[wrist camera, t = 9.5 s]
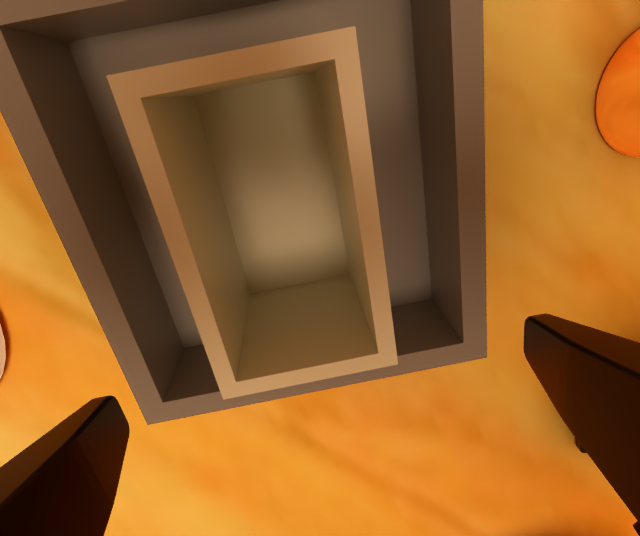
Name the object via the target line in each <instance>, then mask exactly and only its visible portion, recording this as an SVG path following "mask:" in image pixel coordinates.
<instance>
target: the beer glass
mask: <svg viewBox="0 0 640 536" xmlns="http://www.w3.org/2000/svg"><path fill="white" fill-rule="evenodd" d="M596 119H597V124H598V128H599V130H600V133H601V135H602V137H603V138H604V140H605V141H606V142H607V143H608V145H609V146H611V147H612V148H613V149H614V150H616V151H618V152H620V153H622V154H624V155H627V156H631V157H639V158H640V28H639V29H638V30H637V31H635V32H634V33H633V34H632V35H631V36H630V37H629V38H628V39H627V40H626V41H625V42H624V43H623V44H622V45H621V46H620V47H619V49H618V50H617V51H616V53H615V54H614V55H613V57H612V58H611V60H610V62H609V64H608V65H607V67H606V69H605V71H604V74H603V76H602V78H601V81H600V84H599V88H598V92H597V98H596Z"/></svg>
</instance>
